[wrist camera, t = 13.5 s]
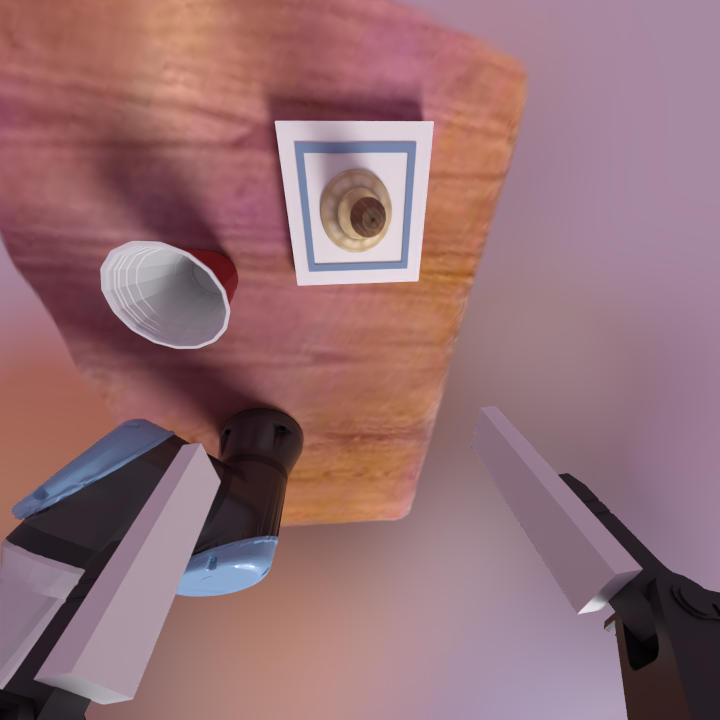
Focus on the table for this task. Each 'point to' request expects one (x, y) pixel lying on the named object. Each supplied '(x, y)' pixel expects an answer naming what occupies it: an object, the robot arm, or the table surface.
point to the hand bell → (355, 210)
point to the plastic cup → (170, 292)
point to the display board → (365, 152)
